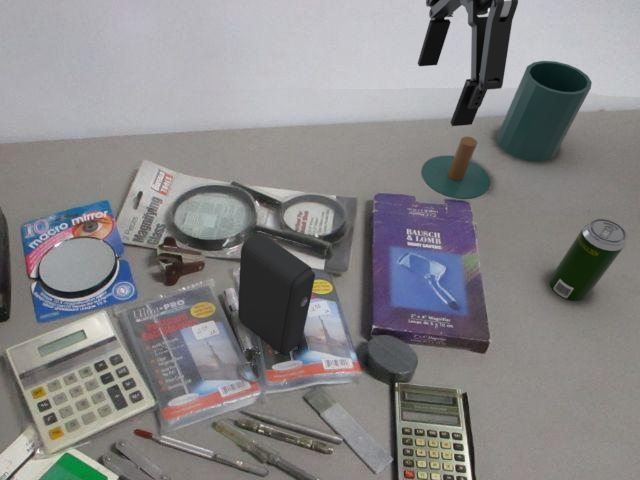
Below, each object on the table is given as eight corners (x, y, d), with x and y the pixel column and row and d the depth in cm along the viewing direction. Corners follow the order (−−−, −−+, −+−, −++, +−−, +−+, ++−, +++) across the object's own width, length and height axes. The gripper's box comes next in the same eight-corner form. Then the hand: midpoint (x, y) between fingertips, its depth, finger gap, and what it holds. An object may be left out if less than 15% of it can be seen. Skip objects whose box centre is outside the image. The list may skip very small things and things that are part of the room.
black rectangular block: (305, 345, 79) (321, 267, 67) (285, 362, 77) (298, 286, 65) (255, 306, 82) (262, 227, 71) (235, 322, 81) (239, 243, 69)
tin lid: (479, 162, 105) (496, 122, 99) (494, 205, 98) (513, 165, 92) (415, 158, 106) (428, 118, 99) (425, 200, 98) (439, 160, 92)
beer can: (577, 311, 84) (621, 251, 75) (540, 291, 86) (579, 231, 77) (590, 290, 87) (635, 230, 77) (555, 271, 89) (594, 211, 80)
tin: (544, 132, 112) (579, 62, 101) (561, 167, 105) (600, 95, 95) (489, 129, 112) (519, 59, 101) (502, 163, 106) (535, 92, 95)
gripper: (430, -119, 72) (391, 44, 89) (515, -16, 58) (449, 154, 75) (488, -122, 73) (438, 40, 90) (587, -21, 58) (505, 149, 76)
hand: (443, 92), depth 82 cm, fingers open, 13 cm apart
